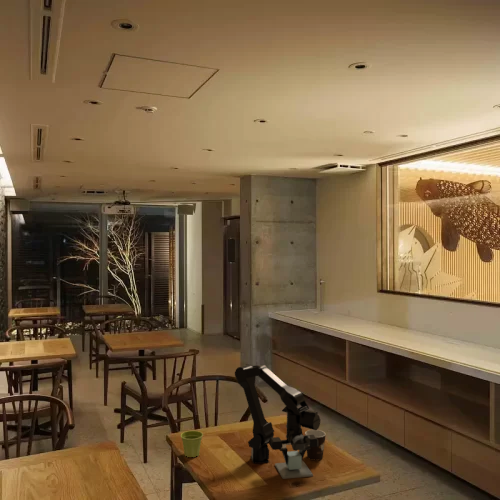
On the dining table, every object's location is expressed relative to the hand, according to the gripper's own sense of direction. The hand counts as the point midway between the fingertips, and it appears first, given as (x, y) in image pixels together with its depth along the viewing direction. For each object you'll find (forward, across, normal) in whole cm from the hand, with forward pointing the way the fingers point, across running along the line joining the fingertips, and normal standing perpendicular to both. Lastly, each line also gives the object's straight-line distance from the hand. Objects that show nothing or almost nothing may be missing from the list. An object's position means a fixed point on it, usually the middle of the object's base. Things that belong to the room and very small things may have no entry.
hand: (293, 463), depth 203 cm
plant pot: (+3, -38, +22) cm, 44 cm away
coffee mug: (+3, +14, +11) cm, 18 cm away
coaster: (+3, 0, 0) cm, 3 cm away
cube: (+1, 0, 0) cm, 1 cm away
